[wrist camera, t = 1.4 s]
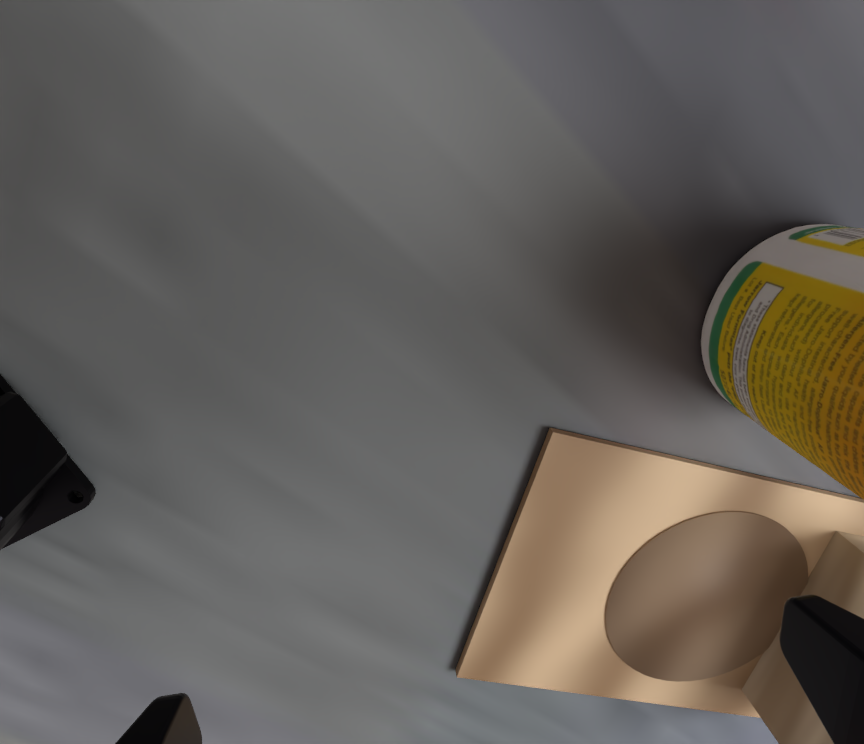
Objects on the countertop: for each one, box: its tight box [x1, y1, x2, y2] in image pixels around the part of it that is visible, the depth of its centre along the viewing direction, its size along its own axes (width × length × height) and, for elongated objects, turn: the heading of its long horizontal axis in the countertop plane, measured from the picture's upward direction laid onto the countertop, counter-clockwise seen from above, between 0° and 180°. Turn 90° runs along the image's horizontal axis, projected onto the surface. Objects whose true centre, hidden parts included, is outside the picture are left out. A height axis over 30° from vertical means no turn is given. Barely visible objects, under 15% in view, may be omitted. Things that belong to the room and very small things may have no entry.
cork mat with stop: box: [456, 428, 864, 744], centre depth 23 cm, size 16×12×5 cm
